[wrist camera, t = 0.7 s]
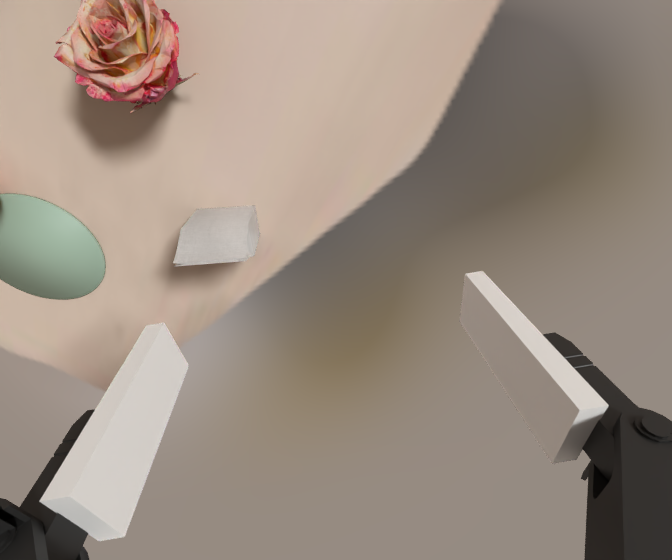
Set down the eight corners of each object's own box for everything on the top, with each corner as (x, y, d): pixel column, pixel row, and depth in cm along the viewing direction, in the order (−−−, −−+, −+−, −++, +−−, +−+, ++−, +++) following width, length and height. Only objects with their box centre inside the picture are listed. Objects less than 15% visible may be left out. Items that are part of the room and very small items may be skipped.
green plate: (-67, 215, 34) (-69, 216, 34) (47, 176, 33) (45, 177, 33) (34, 310, 42) (33, 311, 42) (129, 281, 41) (128, 281, 41)
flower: (222, 111, 30) (186, 43, 22) (134, 151, 30) (65, 97, 22) (179, 26, 31) (128, -70, 23) (92, 64, 30) (9, -20, 22)
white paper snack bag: (197, 208, 37) (166, 246, 28) (255, 205, 37) (241, 241, 29) (205, 237, 39) (178, 280, 30) (260, 233, 39) (249, 275, 31)
